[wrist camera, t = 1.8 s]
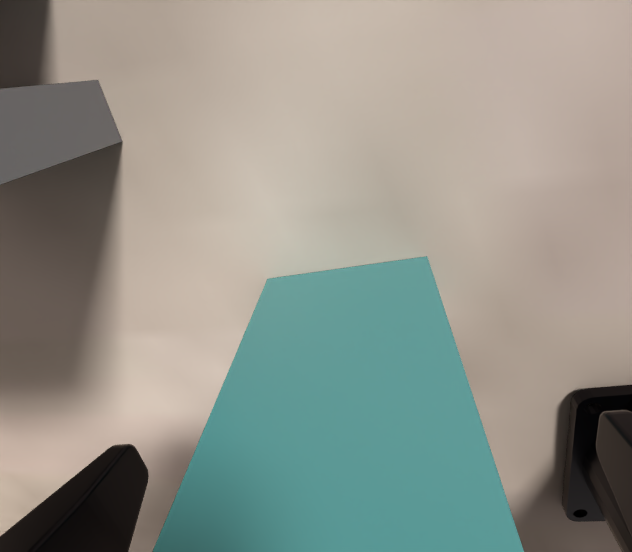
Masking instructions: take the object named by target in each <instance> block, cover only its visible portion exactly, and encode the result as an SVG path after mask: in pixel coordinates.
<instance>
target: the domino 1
mask: <svg viewBox="0 0 632 552" xmlns="http://www.w3.org/2000/svg"><path fill="white" fill-rule="evenodd" d="M119 142H122V139H121V137H120V134H119V132H118V129H117V127H116V124H115V122H114V119H113V117H112V114H111V112H110V109H109V107H108V104H107V102H106V99H105V97H104V94H103V92H102V89H101V86H100V84H99V81H98V80H92V81H81V82H69V83H58V84H47V85H36V86H25V87H14V88H2V89H0V185H1V184H3V183H6V182H9V181H12V180H15V179H18V178H20V177H23V176H26V175H29V174H32V173H34V172H37V171H40V170H43V169H46V168H49V167H51V166H54V165H57V164H60V163H63V162H65V161H68V160H71V159H74V158H77V157H80V156H82V155H85V154H88V153H91V152H94V151H96V150H99V149H102V148H105V147H108V146H111V145H113V144H116V143H119Z"/></svg>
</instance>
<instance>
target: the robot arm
mask: <svg viewBox="0 0 632 552" xmlns="http://www.w3.org/2000/svg"><path fill="white" fill-rule="evenodd" d="M590 403H592V404H590ZM588 404H590V405H588ZM147 483H148V470H147V467H146V466H145V464H144V462H143V460H142V458H141V457H140V455H139V453H138V451H137V449H136V448H135V446H133V445H132V444H122V445H114V446H112V447H110V448H109V449H107V450H106V451H105V452H104V453H103V454H101V455H100V456H99V457H98V458H96V459H95V460H94V461H93V462H91V463H90V464H89V465H88V466H86V467H85V468H84V469H83V470H82V471H80V472H79V473H78V474H77V475H75V476H74V477H73V478H72V479H70V480H69V481H68V482H67V483H66V484H64V485H63V486H62V487H61V488H59V489H58V490H57V491H56V492H54V493H53V494H52V495H51V496H49V497H48V498H47V499H46V500H45V501H43V502H42V503H41V504H40V505H38V506H37V507H36V508H35V509H33V510H32V511H31V512H30V513H28V514H27V515H26V516H25V517H24V518H22V519H21V520H20V521H19V522H17V523H16V524H15V525H14V526H12V527H11V528H10V529H9V530H8V531H6V532H5V533H4V534H3V535H1V536H0V552H128V550H129V547H130V543H131V540H132V536H133V533H134V529H135V526H136V522H137V519H138V515H139V511H140V508H141V504H142V501H143V497H144V494H145V490H146V486H147ZM562 506H563V509H564V511H565V513H566V516H567V517H568V518H569V519H570V520H573V521H579V522H581V521H606V522H607V524H608V526H609V528H610V530H611V531H612V533H613V535H614V537H615V539H616V541H617V543H618V545H619V547H620V549H621V550H622V552H632V385H625V386H613V387H601V388H588V389H584V390H581V391H579V392H577V393H576V394H575V395H574V396H573V397H572V400H571V407H570V418H569V430H568V441H567V453H566V464H565V476H564V487H563V499H562Z"/></svg>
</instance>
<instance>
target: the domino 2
mask: <svg viewBox="0 0 632 552" xmlns="http://www.w3.org/2000/svg"><path fill="white" fill-rule="evenodd" d="M153 552H524V550H523V547H522V544H521V541H520V538H519V535H518V532H517V529H516V526H515V523H514V520H513V517H512V514H511V511H510V508H509V505H508V502H507V499H506V496H505V492H504V489H503V486H502V483H501V480H500V477H499V474H498V471H497V468H496V465H495V462H494V459H493V456H492V453H491V450H490V447H489V444H488V441H487V438H486V435H485V431H484V428H483V425H482V422H481V419H480V416H479V413H478V410H477V407H476V404H475V401H474V398H473V395H472V392H471V389H470V386H469V383H468V380H467V377H466V374H465V371H464V367H463V364H462V361H461V358H460V355H459V352H458V349H457V346H456V343H455V340H454V337H453V334H452V331H451V328H450V325H449V322H448V319H447V316H446V313H445V310H444V306H443V303H442V300H441V297H440V294H439V291H438V288H437V285H436V282H435V279H434V276H433V273H432V270H431V267H430V264H429V261H428V258H427V256H426V257H419V258H412V259H405V260H398V261H391V262H384V263H377V264H370V265H362V266H355V267H348V268H341V269H334V270H327V271H320V272H313V273H306V274H298V275H291V276H284V277H277V278H270V279H267V282H266V284H265V286H264V289H263V291H262V293H261V296H260V298H259V300H258V303H257V305H256V308H255V310H254V312H253V315H252V317H251V319H250V322H249V324H248V327H247V329H246V331H245V334H244V336H243V338H242V341H241V343H240V346H239V348H238V350H237V353H236V355H235V357H234V360H233V362H232V364H231V367H230V369H229V372H228V374H227V376H226V379H225V381H224V383H223V386H222V388H221V391H220V393H219V395H218V398H217V400H216V402H215V405H214V407H213V410H212V412H211V414H210V417H209V419H208V421H207V424H206V426H205V428H204V431H203V433H202V436H201V438H200V440H199V443H198V445H197V447H196V450H195V452H194V455H193V457H192V459H191V462H190V464H189V466H188V469H187V471H186V474H185V476H184V478H183V481H182V483H181V485H180V488H179V490H178V492H177V495H176V497H175V500H174V502H173V504H172V507H171V509H170V511H169V514H168V516H167V519H166V521H165V523H164V526H163V528H162V530H161V533H160V535H159V538H158V540H157V542H156V545H155V547H154V549H153Z"/></svg>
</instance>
